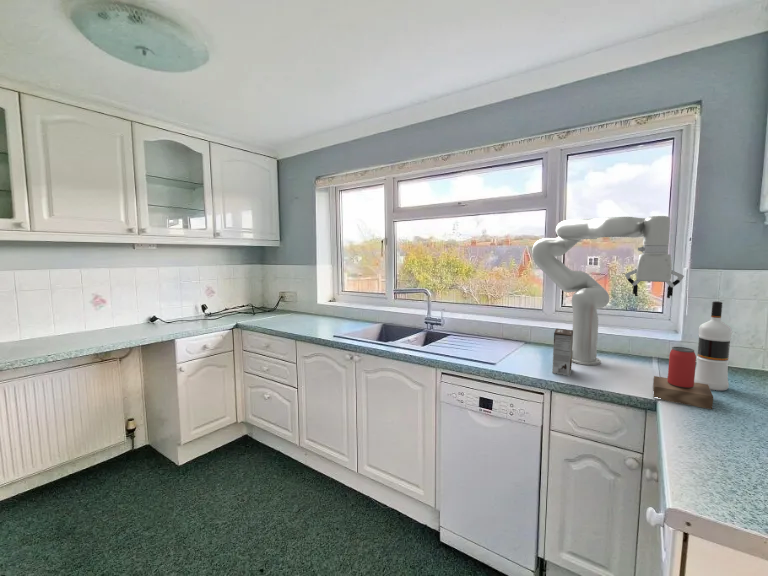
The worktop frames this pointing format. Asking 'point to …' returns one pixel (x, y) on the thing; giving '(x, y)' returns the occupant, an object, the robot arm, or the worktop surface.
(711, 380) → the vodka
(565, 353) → the coffee box
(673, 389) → the walnut base
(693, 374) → the beer can
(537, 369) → the worktop surface
